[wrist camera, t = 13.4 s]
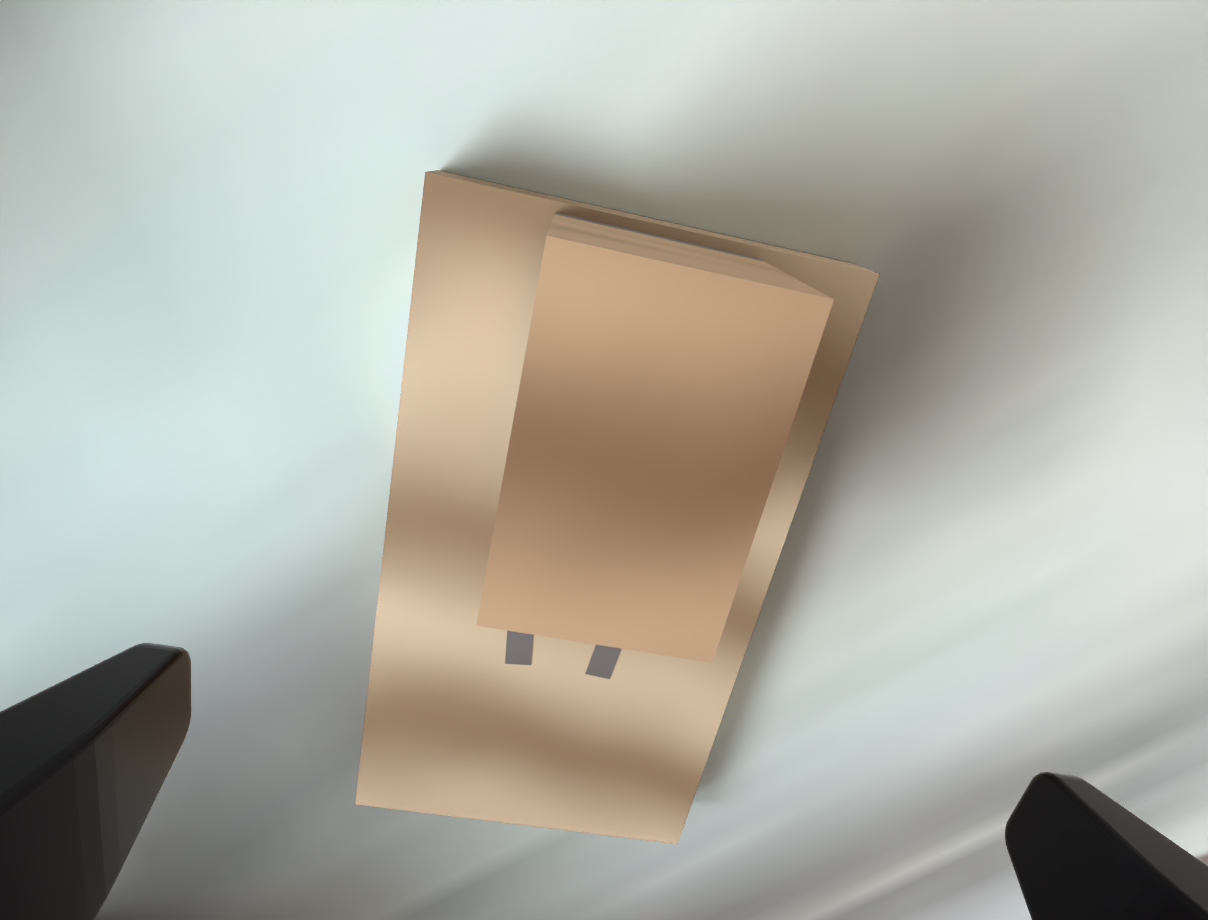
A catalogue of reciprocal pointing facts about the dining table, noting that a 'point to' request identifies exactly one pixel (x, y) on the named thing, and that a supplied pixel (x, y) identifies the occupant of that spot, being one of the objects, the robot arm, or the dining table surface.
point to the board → (463, 538)
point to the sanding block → (644, 438)
